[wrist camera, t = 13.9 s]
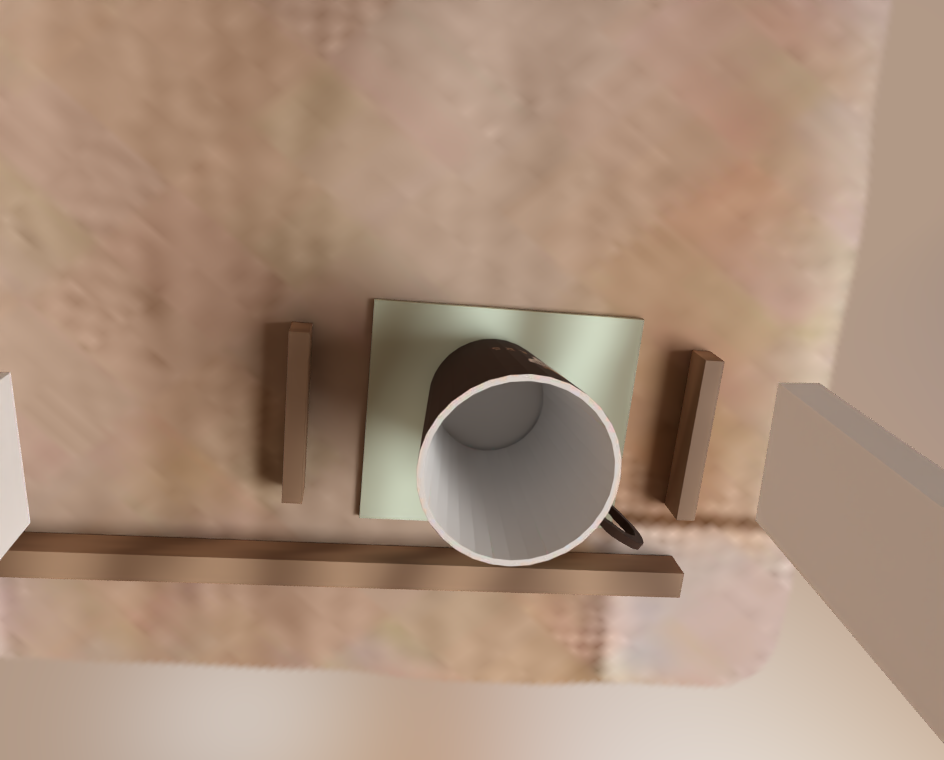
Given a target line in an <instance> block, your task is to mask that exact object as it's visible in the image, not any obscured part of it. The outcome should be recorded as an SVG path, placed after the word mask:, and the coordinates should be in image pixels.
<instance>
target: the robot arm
mask: <svg viewBox="0 0 944 760" xmlns="http://www.w3.org/2000/svg"><path fill="white" fill-rule="evenodd" d="M756 521H757V523H758V524H759V525H760V526H761V527H762V529H763V530H764V531H765V532H766V533H767V535H768V536H769V537H770V538H771V539H772V540H773V542H774V543H775V544H776V545H777V546H778V548H779V549H780V550H781V551H782V552H783V553H784V555H785V556H786V557H787V558H788V559H789V561H790V562H791V563H792V564H793V565H794V567H795V568H796V569H797V570H798V571H799V572H800V574H801V575H802V576H803V577H804V578H805V580H806V581H807V582H808V583H809V584H810V585H811V587H812V588H813V589H814V590H815V591H816V593H817V594H819V596H820V597H821V599H822V600H823V601H824V602H825V603H826V604H827V606H828V607H829V608H830V609H831V610H832V612H833V613H834V614H835V615H836V616H837V617H838V619H839V620H840V621H841V622H842V623H843V625H844V626H845V627H846V628H847V629H848V631H849V632H850V633H851V634H852V635H853V636H854V638H856V640H857V641H858V642H859V644H860V645H861V646H862V647H863V648H864V649H865V651H866V652H867V653H868V654H869V655H870V657H871V658H872V659H873V660H874V661H875V663H876V664H877V665H878V666H879V667H880V668H881V670H882V671H883V672H884V673H885V674H886V676H887V677H888V678H889V679H890V680H891V681H892V683H893V684H894V685H895V686H896V687H897V689H898V690H899V691H900V692H901V693H902V695H904V697H905V698H906V699H907V700H908V701H909V703H910V704H911V705H912V706H913V707H914V709H915V710H916V711H917V712H918V713H919V714H920V716H921V717H922V718H923V719H924V721H925V722H926V723H927V724H928V725H929V726H930V728H931V729H932V730H933V731H934V732H935V734H936V735H937V736H938V737H939V738H940V740H941V741H942V742H943V743H944V469H942V468H941V467H940V466H938V465H937V464H935V463H934V462H932V461H931V460H929V459H928V458H927V457H925V456H923V455H922V454H921V453H919V452H918V451H916V450H915V449H913V448H912V447H911V446H909V445H908V444H906V443H905V442H903V441H902V440H901V439H899V438H898V437H896V436H895V435H893V434H892V433H890V432H889V431H887V430H886V429H885V428H883V427H882V426H880V425H879V424H877V423H876V422H875V421H873V420H872V419H870V418H869V417H867V416H866V415H864V414H863V413H862V412H860V411H859V410H857V409H856V408H854V407H853V406H851V405H850V404H849V403H847V402H846V401H844V400H843V399H841V398H840V397H838V396H837V395H836V394H834V393H833V392H831V391H830V390H828V389H827V388H825V387H824V386H823V385H821V384H820V383H778V388H777V394H776V400H775V406H774V412H773V418H772V424H771V430H770V436H769V442H768V448H767V454H766V460H765V466H764V472H763V478H762V484H761V490H760V496H759V502H758V508H757V514H756ZM29 524H30V516H29V508H28V501H27V493H26V486H25V478H24V471H23V463H22V455H21V448H20V440H19V433H18V425H17V417H16V410H15V402H14V395H13V387H12V380H11V372H0V559H1V558H2V557H3V556H4V555H5V553H6V552H7V551H8V550H9V548H10V547H11V546H12V545H13V543H14V542H15V541H16V540H17V539H18V537H19V536H20V535H21V534H22V532H23V531H24V530H25V529H26V527H27V526H28V525H29Z"/></svg>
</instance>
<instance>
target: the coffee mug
mask: <svg viewBox="0 0 944 760" xmlns="http://www.w3.org/2000/svg"><path fill="white" fill-rule="evenodd" d="M621 463H622V457H621V452H620V446H619V440H618V438H617V435H616V433H615V430H614V428H613V425H612V423H611V421H610V420H609V418H608V417H607V415H606V414H605V413H604V411H603V410H602V408H601V407H600V406H599V405H598V404H597V403H596V402H595V401H594V400H593V399H592V398H591V397H590V396H588V395H587V394H586V393H585V392H583V391H582V390H581V389H579V388H578V387H577V386H575V385H574V384H572V383H571V382H570V381H568V380H567V379H566V378H564V377H563V376H562V375H560V374H559V373H557V372H556V371H555V370H553V369H552V368H551V367H549V366H548V365H546V364H545V363H544V362H542V361H541V360H540V359H538V358H537V357H536V356H534V355H533V354H531V353H530V352H529V351H527V350H526V349H524V348H522V347H521V346H519V345H517V344H515V343H512V342H509V341H506V340H499V339H482V340H478V341H473V342H470V343H468V344H466V345H463V346H461V347H459V348H458V349H456V350H455V351H453V352H452V353H451V354H449V355H448V356H447V357H446V359H445V360H444V361H443V362H442V363H441V364H440V366H439V367H438V369H437V370H436V372H435V374H434V376H433V379H432V381H431V385H430V390H429V396H428V402H427V408H426V414H425V420H424V426H423V432H422V438H421V444H420V450H419V457H418V463H417V469H416V476H417V491H418V495H419V499H420V503H421V507H422V509H423V511H424V513H425V515H426V517H427V519H428V521H429V523H430V524H431V526H432V527H433V528H434V529H435V531H436V532H437V533H438V534H439V536H440V537H441V538H442V539H443V540H444V541H446V542H447V543H448V544H449V545H451V546H452V547H453V548H454V549H455V550H457V551H459V552H461V553H463V554H465V555H467V556H468V557H470V558H472V559H475V560H479V561H482V562H485V563H488V564H493V565H502V566H523V565H532V564H536V563H540V562H544V561H548V560H551V559H553V558H555V557H557V556H560V555H562V554H564V553H567V552H568V551H570V550H571V549H573V548H574V547H576V546H577V545H579V544H580V543H582V542H583V541H584V540H585V539H586V538H587V537H588V536H589V535H590V534H591V533H592V532H593V531H595V530H596V529H597V527H598V526H599V525H600V526H601V527H602V528H603V529H604V530H605V531H606V532H607V533H609V534H610V535H611V536H612V537H614V538H615V539H617V540H618V541H620V542H622V543H623V544H625V545H627V546H629V547H631V548H633V549H637V550H638V549H639V548H640V547H641V546H642V545H643V543H644V542H643V539H642V537H641V535H640V534H639V532H638V531H637V530H636V529H635V527H634V526H633V525H632V524H631V523H630V522H629V521H628V520H627V519H626V518H625V517H624V516H623V515H622V514H621V513H620V512H619V511H618V510H617V509H616V508H615V507H614V506H613V505H612V504H613V501H614V499H615V497H616V495H617V491H618V487H619V483H620V479H621ZM608 513H609V514H610V516H611V517H612V518H613V519H614V520H615V521H616V522H617V523H618V524H619V525H620V527H622V528H623V529H624V531H625V532H624V531H623V530H621V529H620V528H618V527H617V526H616V525H614V524H613V523H612V522H611V521H609V520H608V519H606V518H605V516H606V515H607V514H608Z"/></svg>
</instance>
